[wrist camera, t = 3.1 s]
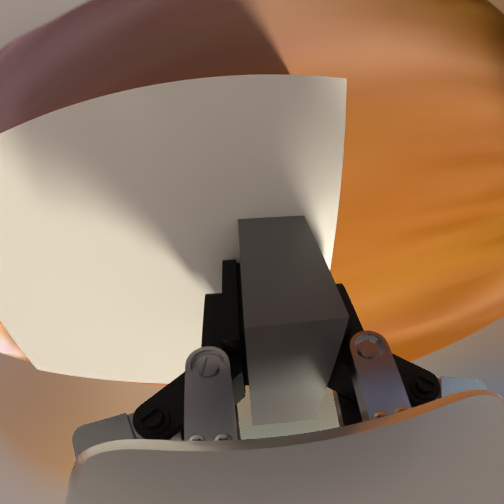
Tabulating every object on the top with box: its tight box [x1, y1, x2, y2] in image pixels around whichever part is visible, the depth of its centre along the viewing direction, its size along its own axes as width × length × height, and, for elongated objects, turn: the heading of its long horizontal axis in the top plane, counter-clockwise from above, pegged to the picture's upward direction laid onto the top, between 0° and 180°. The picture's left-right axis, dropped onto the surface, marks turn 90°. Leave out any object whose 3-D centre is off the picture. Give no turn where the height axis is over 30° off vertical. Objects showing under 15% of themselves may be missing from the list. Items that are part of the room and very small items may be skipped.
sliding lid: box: [0, 74, 349, 425], centre depth 10 cm, size 20×16×6 cm
